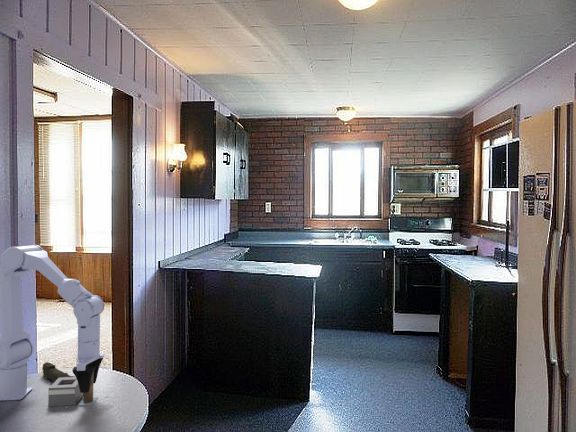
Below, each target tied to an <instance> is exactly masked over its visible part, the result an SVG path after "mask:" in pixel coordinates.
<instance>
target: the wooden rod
mask: <svg viewBox="0 0 576 432" xmlns="http://www.w3.org/2000/svg"><path fill="white" fill-rule="evenodd" d="M93 380H94V372H93V375H92V378H91V385H90V390H89V392H88V393H83V395H82V399H83V402H84V403H89V402H92V401H93V397H94V383H93Z"/></svg>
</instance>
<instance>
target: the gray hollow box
mask: <svg viewBox="0 0 576 432" xmlns="http://www.w3.org/2000/svg"><path fill="white" fill-rule="evenodd" d="M65 384H72V385H65ZM47 396H48V397H47V398H48V399H47V403H48V407H58V406H76V405H77V403H78V402H79V400H80V399H82V397H83V393H80V389H79V385H78V381H77V379H76V377H62V378H58V379H57V380H56V381H55V382H54V381H53V383H52V384H51V385H50V386H49V387H48V395H47Z"/></svg>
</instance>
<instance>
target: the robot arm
mask: <svg viewBox="0 0 576 432" xmlns="http://www.w3.org/2000/svg"><path fill="white" fill-rule="evenodd" d="M29 270H30V271H38V272H39V273H40V274H41V275H42V276H43V277H45V278H46V279H48V280H49V281H50V282H51V283H52V284H53V285H55V286H56V287H57V294H58V295H59V296H60V297H61V298H62V299H63V300H64V301H65V302H66V303H68V305H69V306H70V307H72V308H73V309H72V311H73V314H74V317H75V318H76V324H77V355H76V366H74V367H73V368H72V374H73V376H75V377H76V379H77V381H78V385H79V389H80V393H88V392H89V390H90V385H91V378H92V375H93V372H94V380H93V384H96V382H97V379H98V373H99V369H100V366H101V364H102V363H103V362H102V361H103V360H104V357H105V353H101V352H100V351H101V350H100V349H101V347H100V344H101V342H100V341H101V314H102V313H103V312H104V310H105V302H104V300H103V299H102V297H100V295H96V294H92V293H91V292H90V291H88V290H87V289H86V288H85V287H84V286H83V285H82V284H81V281H80V280H78V279H75V278H69V277H67V276H66V275H65V274H64V273H63V272H62V271H61V269H59V267H58V266H57V265H56V264H55V262H53V261H52V260H51V258H50V257H49V255H48V251H46V250H44V249H43V247H42V246H40V245H38V244H31V245H23V246H22V245H21V246H10V247H9V246H8V248H6V249H5V250H4V251H3V252H2V253H1V254H0V324H1V325H0V326H1V327H0V328H1V329H0V330H1V333H0V401H1V402H2V401H16V400H18V401H19V400H20V401H21V400H22V399H23V398H25V397H26V395H28V394H29V393H31V391H32V390H33V387H28V362H29V361H30V358H31V357H32V355H33V353H34V344H33V342H32V340H31V334H30V333H29V332H27V331H26V330H25V329H24V313H23V312H24V310H23V308H24V307H23V291H22V277H23V276H24V275H26V273H28V271H29Z"/></svg>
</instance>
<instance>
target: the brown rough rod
mask: <svg viewBox="0 0 576 432" xmlns="http://www.w3.org/2000/svg"><path fill="white" fill-rule="evenodd" d="M42 376H43V377H44V378H45V380H51V381H53V383H54V382H55V381H56V380H57V379H58V378H62V377H75V375H70V374H68V372H64V371H62V370H60V369H58V368H57V367H56V365H55V364H54V363H51V362H48V361H47V362H45V363H43V364H42Z"/></svg>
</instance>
